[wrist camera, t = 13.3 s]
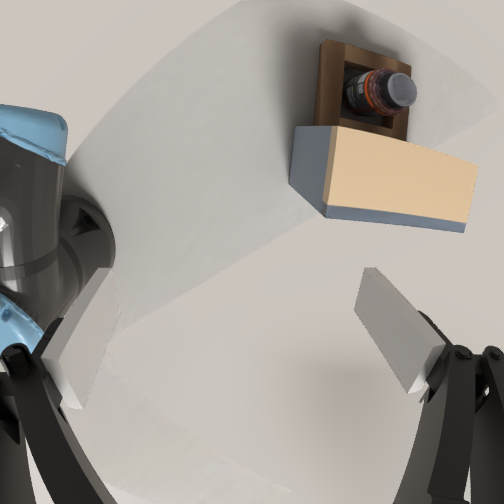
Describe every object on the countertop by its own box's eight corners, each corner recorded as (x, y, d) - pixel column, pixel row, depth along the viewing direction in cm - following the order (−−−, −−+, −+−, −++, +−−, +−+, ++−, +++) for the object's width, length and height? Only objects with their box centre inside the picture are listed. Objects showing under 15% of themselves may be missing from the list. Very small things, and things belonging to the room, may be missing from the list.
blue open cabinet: (288, 184, 39) (325, 218, 25) (295, 126, 36) (338, 126, 21) (398, 197, 41) (463, 233, 27) (406, 148, 38) (478, 165, 23)
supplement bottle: (384, 107, 35) (431, 107, 25) (352, 122, 36) (395, 124, 25) (366, 71, 33) (410, 58, 22) (332, 85, 33) (371, 73, 23)
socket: (312, 132, 36) (319, 132, 33) (320, 45, 31) (327, 39, 28) (393, 148, 38) (404, 150, 35) (400, 68, 32) (411, 66, 30)
